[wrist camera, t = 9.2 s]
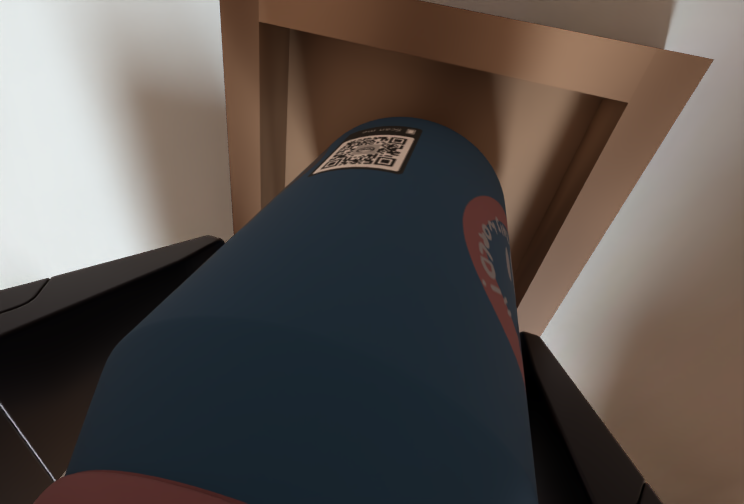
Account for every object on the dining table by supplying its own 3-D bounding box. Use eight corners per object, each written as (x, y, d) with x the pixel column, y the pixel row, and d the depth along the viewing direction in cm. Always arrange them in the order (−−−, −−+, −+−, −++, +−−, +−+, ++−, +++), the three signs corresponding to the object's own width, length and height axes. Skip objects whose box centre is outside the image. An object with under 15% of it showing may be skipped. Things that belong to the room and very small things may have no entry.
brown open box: (664, 51, 10) (714, 59, 8) (504, 340, 18) (507, 388, 15) (268, -29, 12) (217, -40, 10) (267, 267, 19) (238, 300, 17)
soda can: (496, 278, 15) (523, 775, 5) (338, 270, 17) (144, 626, 7) (511, 99, 11) (689, 657, 2) (306, 113, 13) (-184, 415, 3)
